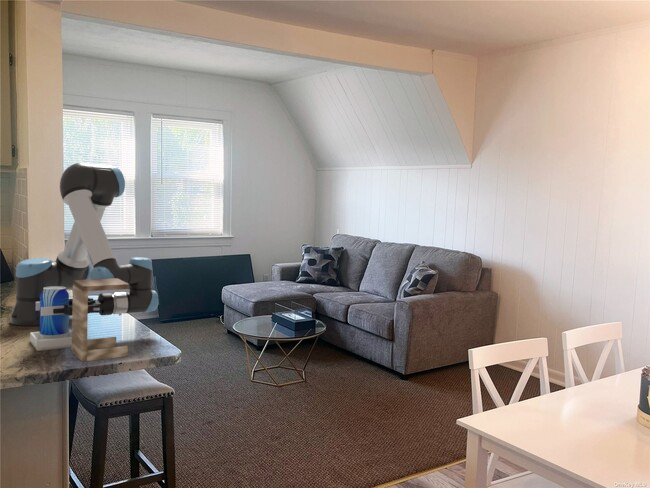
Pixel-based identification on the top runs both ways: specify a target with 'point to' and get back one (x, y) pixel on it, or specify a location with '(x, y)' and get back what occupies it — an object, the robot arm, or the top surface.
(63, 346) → the tray
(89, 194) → the robot arm
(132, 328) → the top surface
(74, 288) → the dock
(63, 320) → the beer can
